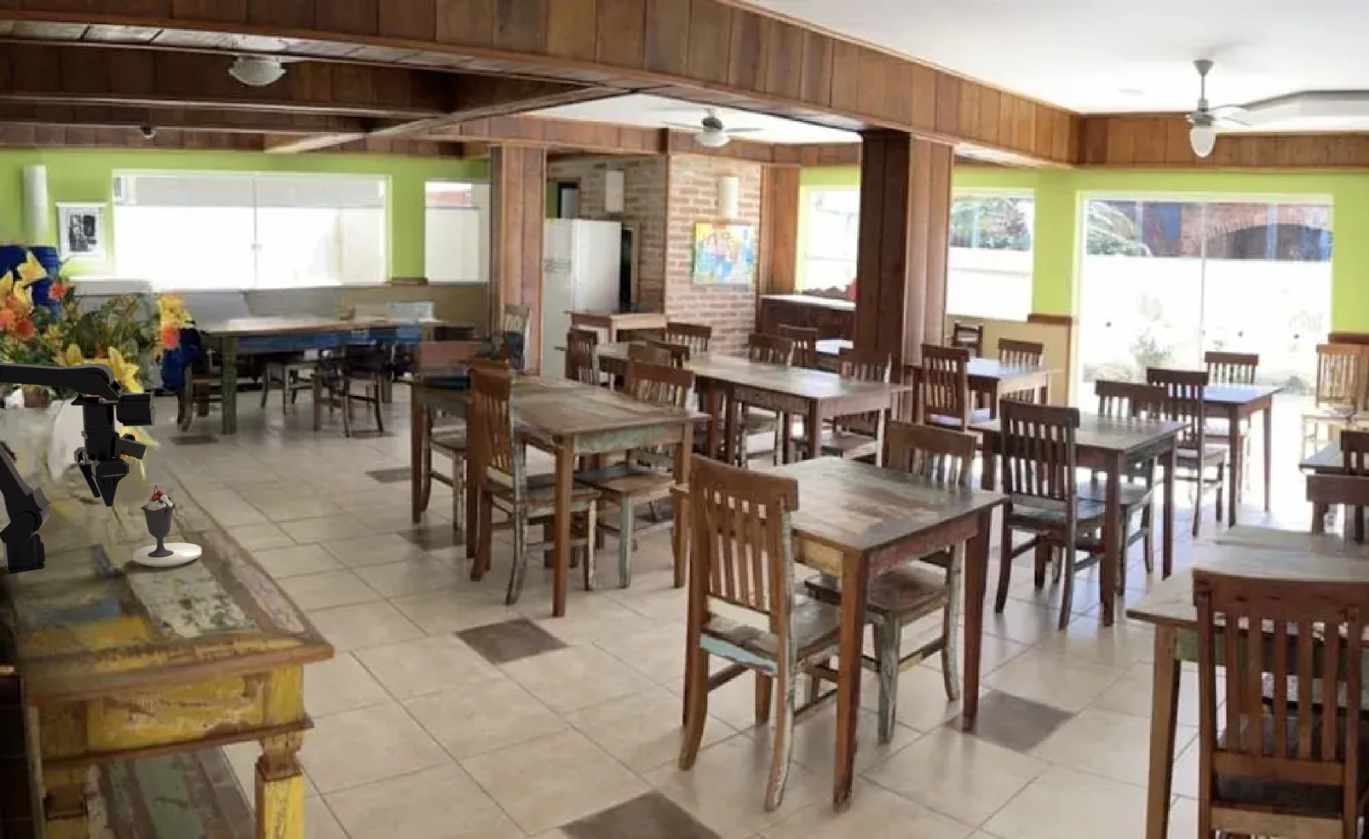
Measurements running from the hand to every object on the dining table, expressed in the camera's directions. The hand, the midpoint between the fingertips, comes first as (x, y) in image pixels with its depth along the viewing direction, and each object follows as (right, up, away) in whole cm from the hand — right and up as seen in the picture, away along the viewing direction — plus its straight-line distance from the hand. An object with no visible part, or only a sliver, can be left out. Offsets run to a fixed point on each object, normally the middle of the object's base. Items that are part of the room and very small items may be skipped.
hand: (103, 501), depth 244 cm
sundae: (+11, -11, +2) cm, 16 cm away
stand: (+11, -13, +4) cm, 17 cm away
